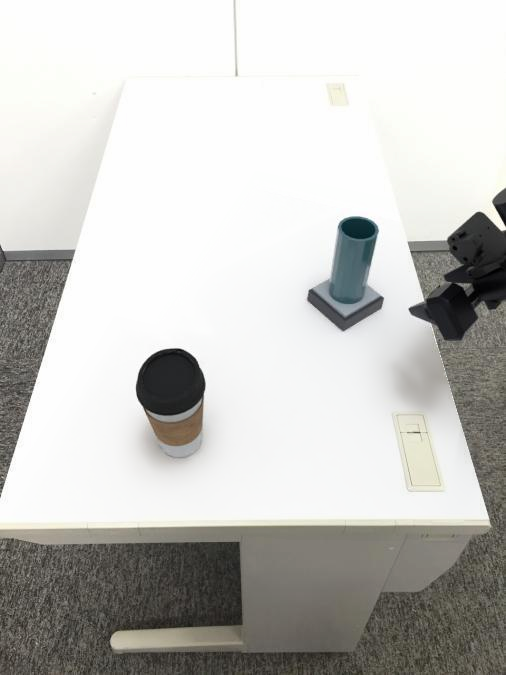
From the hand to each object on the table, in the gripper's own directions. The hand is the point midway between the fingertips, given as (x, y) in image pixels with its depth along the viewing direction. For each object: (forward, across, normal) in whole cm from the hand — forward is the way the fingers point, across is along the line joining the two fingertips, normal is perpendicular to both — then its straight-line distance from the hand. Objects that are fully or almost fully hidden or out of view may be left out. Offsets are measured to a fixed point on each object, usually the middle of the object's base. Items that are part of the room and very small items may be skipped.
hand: (428, 294), depth 75 cm
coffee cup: (+19, +35, -1) cm, 40 cm away
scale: (+19, -1, -1) cm, 19 cm away
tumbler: (+16, -1, -3) cm, 17 cm away
